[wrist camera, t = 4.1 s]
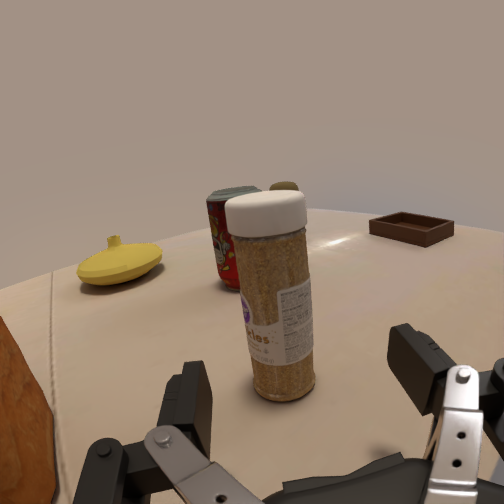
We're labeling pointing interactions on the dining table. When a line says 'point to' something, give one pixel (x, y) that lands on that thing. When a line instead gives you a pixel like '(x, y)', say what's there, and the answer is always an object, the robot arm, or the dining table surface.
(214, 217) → the soda can
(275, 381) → the sprinkles bottle
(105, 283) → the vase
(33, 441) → the bread
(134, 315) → the dining table surface
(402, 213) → the serving tray
